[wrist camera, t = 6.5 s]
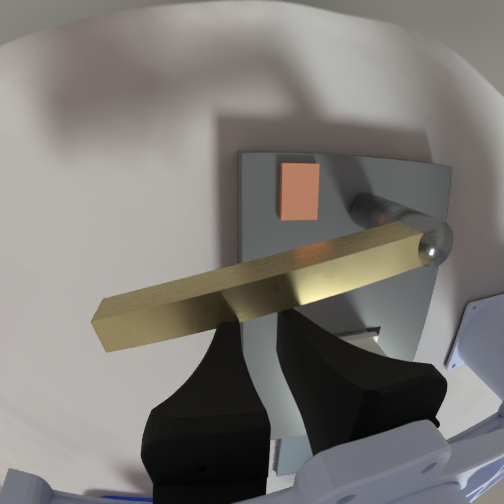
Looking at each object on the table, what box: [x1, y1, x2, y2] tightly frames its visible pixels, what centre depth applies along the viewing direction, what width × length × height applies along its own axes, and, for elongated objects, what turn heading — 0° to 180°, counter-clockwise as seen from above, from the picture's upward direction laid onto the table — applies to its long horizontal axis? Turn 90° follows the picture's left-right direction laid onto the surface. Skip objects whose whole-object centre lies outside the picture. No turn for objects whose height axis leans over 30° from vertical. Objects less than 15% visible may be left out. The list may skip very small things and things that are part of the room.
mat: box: [276, 434, 313, 476], centre depth 27 cm, size 9×9×1 cm
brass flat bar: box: [91, 193, 453, 353], centre depth 14 cm, size 2×14×6 cm, turn 102°
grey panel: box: [237, 152, 452, 440], centre depth 21 cm, size 14×22×2 cm, turn 0°
